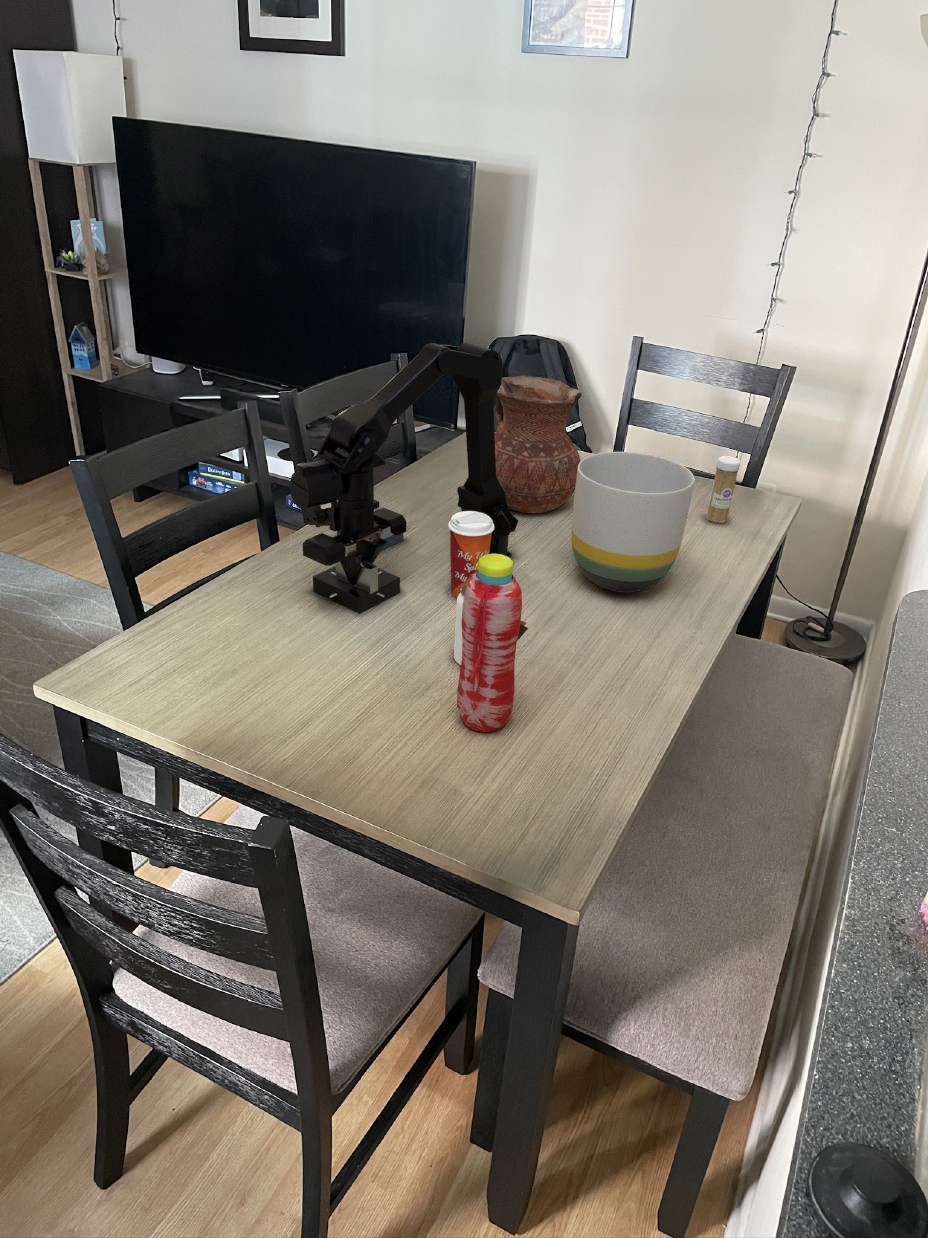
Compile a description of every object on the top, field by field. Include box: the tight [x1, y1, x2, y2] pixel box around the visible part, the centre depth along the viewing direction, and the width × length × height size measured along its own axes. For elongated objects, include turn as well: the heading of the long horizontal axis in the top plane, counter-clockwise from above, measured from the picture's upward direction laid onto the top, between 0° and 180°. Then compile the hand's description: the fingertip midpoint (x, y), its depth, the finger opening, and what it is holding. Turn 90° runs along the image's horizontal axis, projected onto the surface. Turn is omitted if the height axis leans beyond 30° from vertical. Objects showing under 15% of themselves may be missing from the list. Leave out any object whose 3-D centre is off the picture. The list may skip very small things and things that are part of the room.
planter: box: [571, 451, 695, 593], centre depth 155 cm, size 20×20×21 cm
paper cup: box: [447, 511, 494, 599], centre depth 151 cm, size 8×8×14 cm
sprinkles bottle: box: [705, 455, 741, 524], centre depth 185 cm, size 5×5×13 cm
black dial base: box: [312, 565, 401, 615], centre depth 150 cm, size 14×13×3 cm
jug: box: [494, 375, 583, 514], centre depth 185 cm, size 22×21×25 cm
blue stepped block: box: [336, 508, 405, 552], centre depth 171 cm, size 10×9×4 cm
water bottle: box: [456, 554, 529, 733], centre depth 118 cm, size 12×8×25 cm, turn 153°
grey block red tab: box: [335, 559, 379, 594], centre depth 148 cm, size 8×2×5 cm, turn 52°
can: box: [453, 583, 468, 667], centre depth 133 cm, size 6×6×12 cm
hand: (356, 581), depth 149 cm, fingers closed on grey block red tab, 2 cm apart
